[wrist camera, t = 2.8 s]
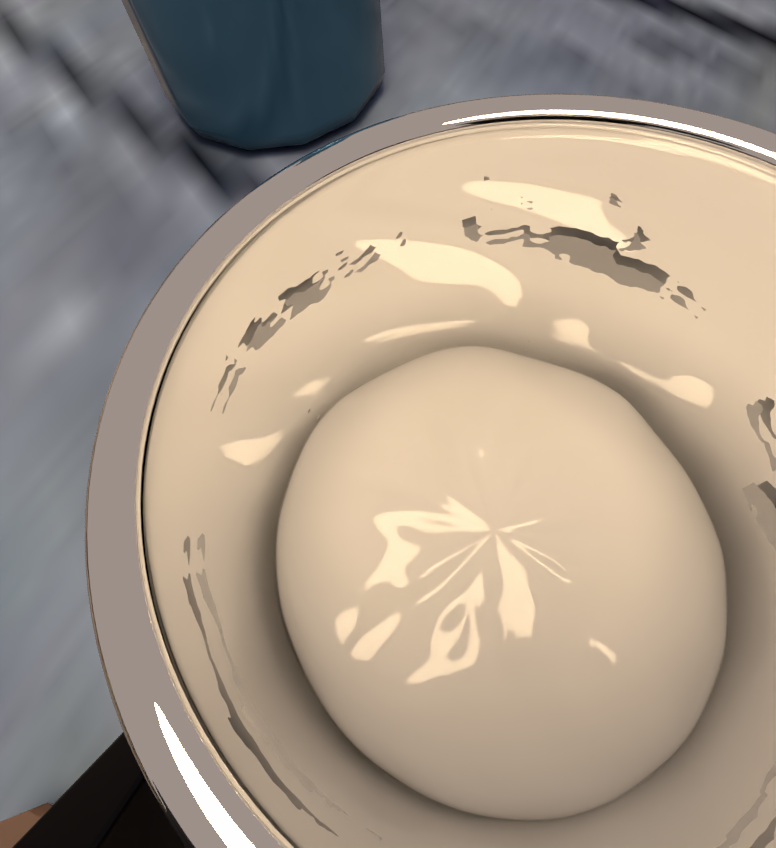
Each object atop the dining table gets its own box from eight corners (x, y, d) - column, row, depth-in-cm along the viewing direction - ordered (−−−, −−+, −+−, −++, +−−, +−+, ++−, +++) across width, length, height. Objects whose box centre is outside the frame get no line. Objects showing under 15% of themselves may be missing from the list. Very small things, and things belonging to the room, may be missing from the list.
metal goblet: (503, 480, 18) (721, 6, 5) (595, 675, 16) (1758, 825, 2) (328, 541, 18) (34, 197, 4) (388, 756, 15) (65, 1723, 1)
